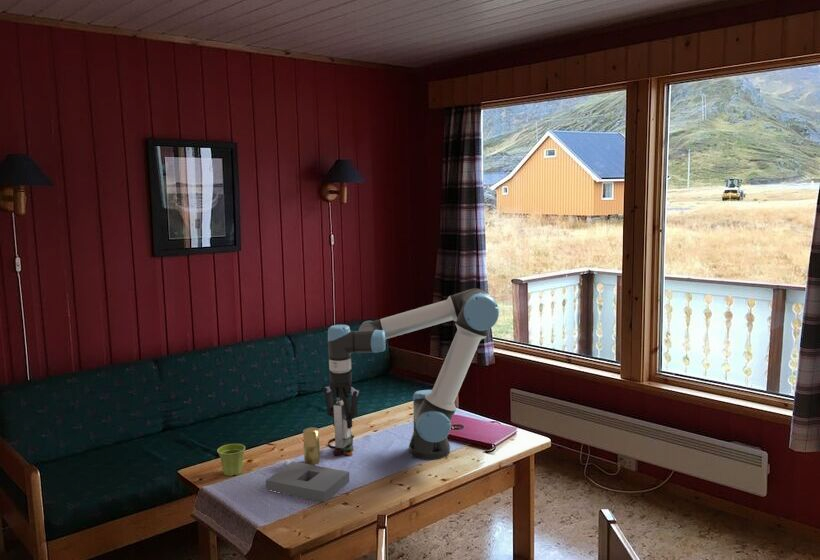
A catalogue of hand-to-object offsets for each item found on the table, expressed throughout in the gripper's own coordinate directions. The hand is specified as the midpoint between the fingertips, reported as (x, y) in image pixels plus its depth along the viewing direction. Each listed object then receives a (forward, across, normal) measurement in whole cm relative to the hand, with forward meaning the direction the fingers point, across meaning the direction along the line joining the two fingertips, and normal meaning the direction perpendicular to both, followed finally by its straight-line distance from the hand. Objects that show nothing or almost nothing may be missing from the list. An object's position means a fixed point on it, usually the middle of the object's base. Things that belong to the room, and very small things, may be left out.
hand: (343, 436), depth 236 cm
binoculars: (+12, -8, +13) cm, 20 cm away
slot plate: (+12, -4, -16) cm, 21 cm away
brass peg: (+12, -14, +1) cm, 18 cm away
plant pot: (+12, -34, -17) cm, 40 cm away
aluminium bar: (+3, 0, 0) cm, 3 cm away
